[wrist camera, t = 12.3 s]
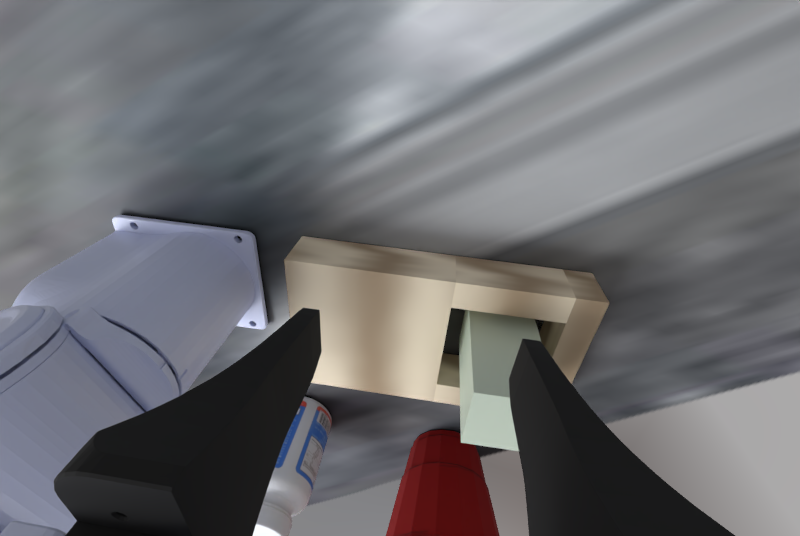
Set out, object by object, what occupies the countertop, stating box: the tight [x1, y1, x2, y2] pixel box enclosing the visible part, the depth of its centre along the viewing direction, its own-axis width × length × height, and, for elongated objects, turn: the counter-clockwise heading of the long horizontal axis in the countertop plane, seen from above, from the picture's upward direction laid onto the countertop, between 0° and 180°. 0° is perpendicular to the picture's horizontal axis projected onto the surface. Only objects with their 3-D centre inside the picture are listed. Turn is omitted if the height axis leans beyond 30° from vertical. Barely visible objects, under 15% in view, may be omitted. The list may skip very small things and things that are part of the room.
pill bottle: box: [253, 397, 332, 536], centre depth 29 cm, size 6×5×10 cm
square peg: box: [459, 310, 541, 451], centre depth 22 cm, size 4×4×8 cm
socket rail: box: [284, 236, 609, 405], centre depth 25 cm, size 18×10×3 cm, turn 86°
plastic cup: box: [386, 429, 499, 536], centre depth 29 cm, size 11×11×12 cm
